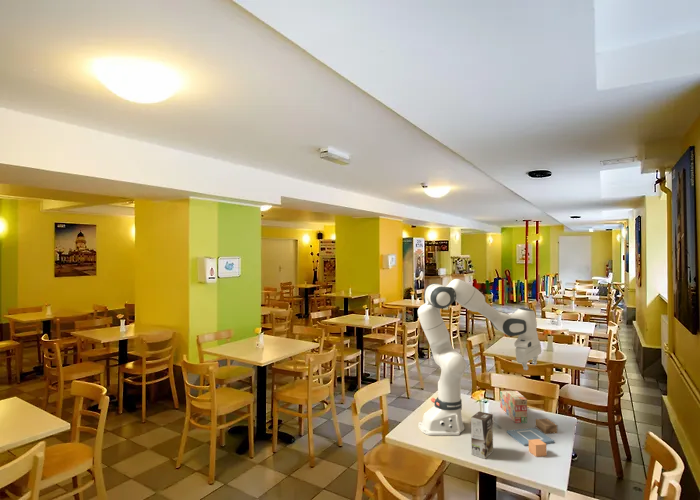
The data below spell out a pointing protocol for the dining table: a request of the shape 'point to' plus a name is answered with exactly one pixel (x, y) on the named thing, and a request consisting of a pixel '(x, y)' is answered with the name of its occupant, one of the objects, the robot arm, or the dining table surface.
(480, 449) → the coffee box
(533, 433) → the slate-blue board
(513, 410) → the colourful patterned carton
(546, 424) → the walnut brick
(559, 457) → the dining table surface
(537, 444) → the terracotta cube
